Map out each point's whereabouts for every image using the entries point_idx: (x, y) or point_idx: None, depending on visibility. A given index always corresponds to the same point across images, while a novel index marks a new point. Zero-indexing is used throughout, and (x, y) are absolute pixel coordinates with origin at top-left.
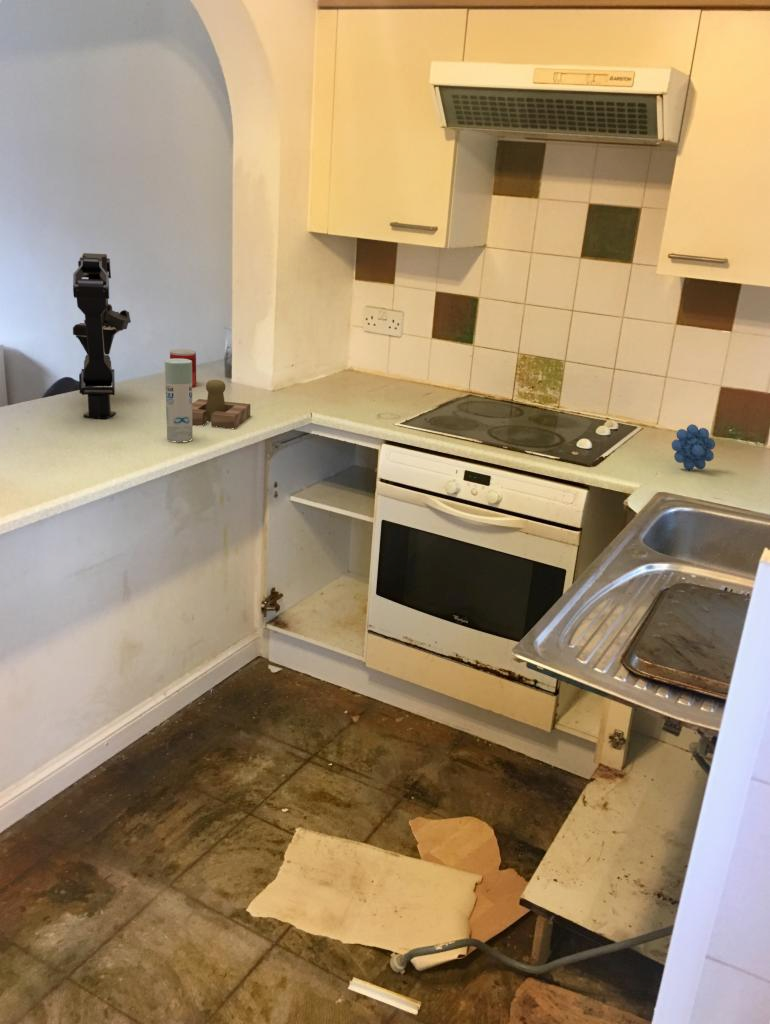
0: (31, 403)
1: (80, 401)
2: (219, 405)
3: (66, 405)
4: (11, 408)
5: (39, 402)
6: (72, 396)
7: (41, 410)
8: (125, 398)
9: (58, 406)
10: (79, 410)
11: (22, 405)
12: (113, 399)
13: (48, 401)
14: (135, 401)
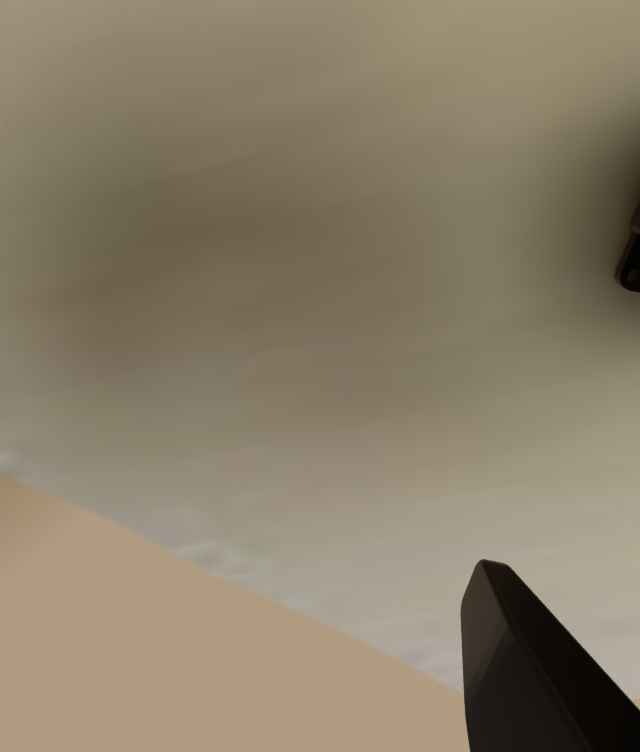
0: (409, 650)
1: (300, 436)
2: None
3: (427, 489)
4: None
5: (378, 624)
6: (183, 505)
7: (573, 583)
8: (108, 145)
9: (461, 524)
10: (562, 389)
11: (462, 676)
12: (175, 234)
13: (344, 591)
14: (182, 20)
